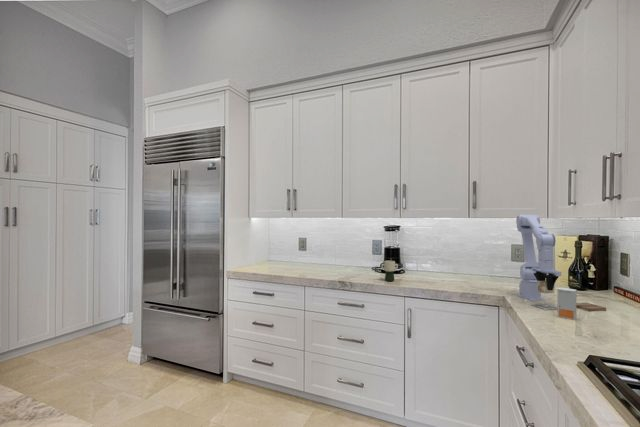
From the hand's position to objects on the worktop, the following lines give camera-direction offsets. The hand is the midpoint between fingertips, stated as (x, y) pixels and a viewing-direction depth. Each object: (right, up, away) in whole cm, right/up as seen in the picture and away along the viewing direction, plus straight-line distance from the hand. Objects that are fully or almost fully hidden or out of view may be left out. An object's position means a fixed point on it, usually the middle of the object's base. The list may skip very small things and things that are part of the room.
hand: (545, 289), depth 156 cm
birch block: (0, -1, 0) cm, 1 cm away
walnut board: (+18, -9, -2) cm, 20 cm away
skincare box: (-2, -9, -16) cm, 18 cm away
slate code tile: (0, -9, 0) cm, 9 cm away
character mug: (-59, -10, +65) cm, 89 cm away
